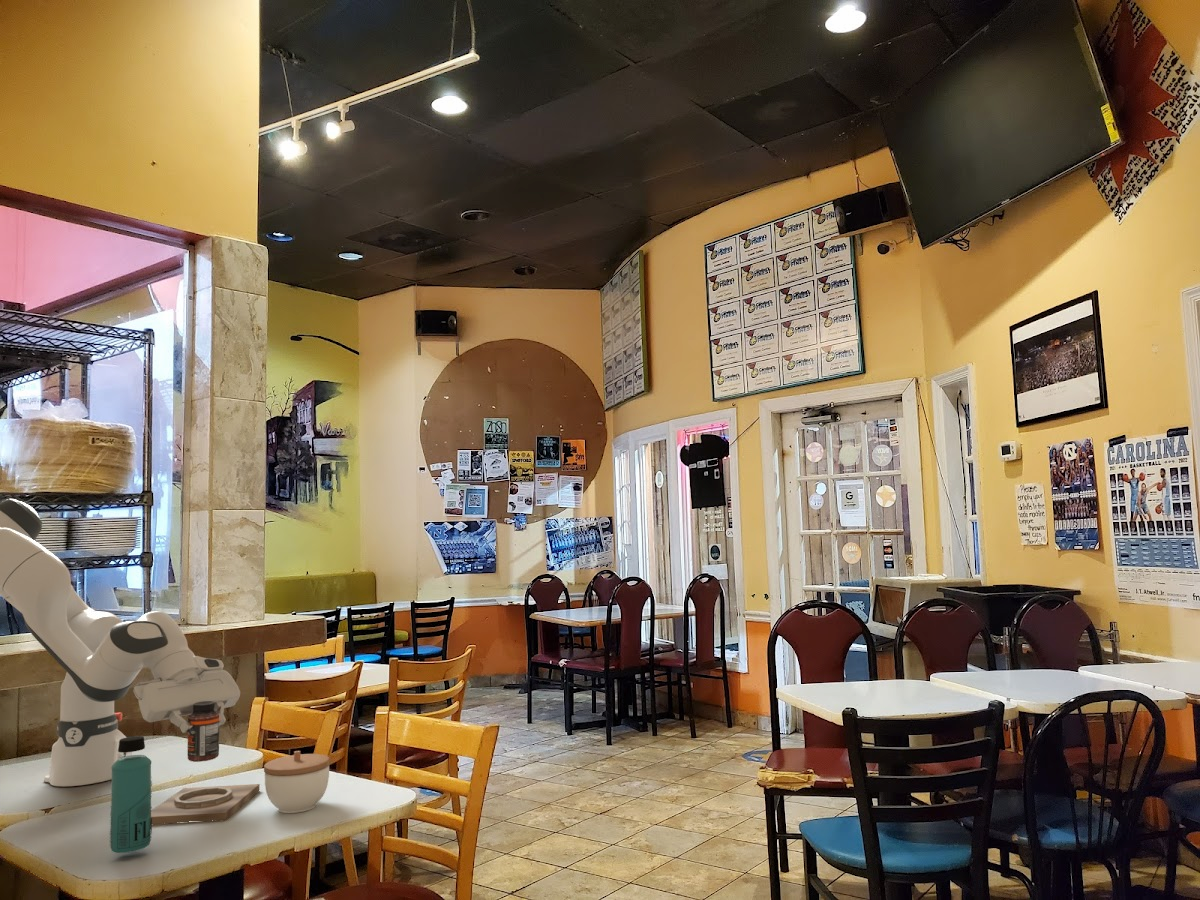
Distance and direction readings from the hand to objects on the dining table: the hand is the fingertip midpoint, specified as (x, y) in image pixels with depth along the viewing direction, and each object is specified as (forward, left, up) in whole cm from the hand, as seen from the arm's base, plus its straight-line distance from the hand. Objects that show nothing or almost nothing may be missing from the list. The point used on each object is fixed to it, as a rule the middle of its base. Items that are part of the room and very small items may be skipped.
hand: (205, 726), depth 180 cm
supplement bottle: (0, -1, -7) cm, 7 cm away
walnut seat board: (0, 0, -16) cm, 16 cm away
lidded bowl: (+4, +20, -16) cm, 26 cm away
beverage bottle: (+27, -2, -16) cm, 31 cm away
